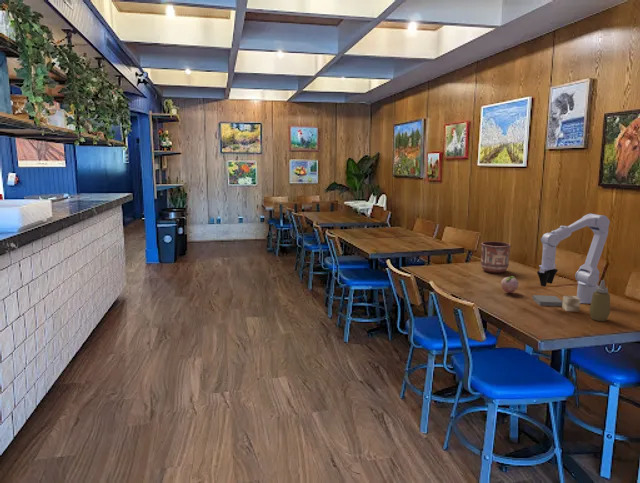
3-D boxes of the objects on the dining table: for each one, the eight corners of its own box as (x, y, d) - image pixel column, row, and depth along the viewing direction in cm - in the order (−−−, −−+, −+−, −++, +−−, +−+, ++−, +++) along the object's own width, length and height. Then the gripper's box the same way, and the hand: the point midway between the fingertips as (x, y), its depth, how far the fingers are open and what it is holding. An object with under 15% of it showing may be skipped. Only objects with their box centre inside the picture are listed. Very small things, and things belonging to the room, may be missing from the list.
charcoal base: (554, 300, 235) (555, 295, 234) (563, 307, 224) (563, 302, 223) (532, 299, 236) (532, 295, 236) (539, 306, 225) (540, 301, 225)
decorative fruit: (503, 290, 251) (504, 272, 250) (519, 292, 246) (520, 274, 245) (497, 293, 244) (499, 275, 243) (513, 296, 239) (515, 278, 237)
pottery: (473, 269, 298) (475, 242, 295) (493, 267, 305) (495, 240, 302) (493, 276, 282) (496, 247, 279) (514, 273, 290) (517, 245, 286)
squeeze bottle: (601, 316, 210) (606, 277, 206) (613, 322, 202) (618, 282, 199) (584, 316, 209) (588, 278, 206) (595, 322, 201) (599, 282, 198)
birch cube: (574, 308, 221) (575, 296, 220) (578, 311, 216) (580, 299, 215) (562, 307, 222) (563, 295, 221) (566, 311, 217) (567, 299, 216)
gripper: (546, 254, 232) (544, 280, 234) (534, 258, 222) (531, 285, 224) (560, 256, 227) (558, 283, 229) (549, 260, 217) (546, 288, 219)
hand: (546, 284), depth 226 cm, fingers open, 7 cm apart
